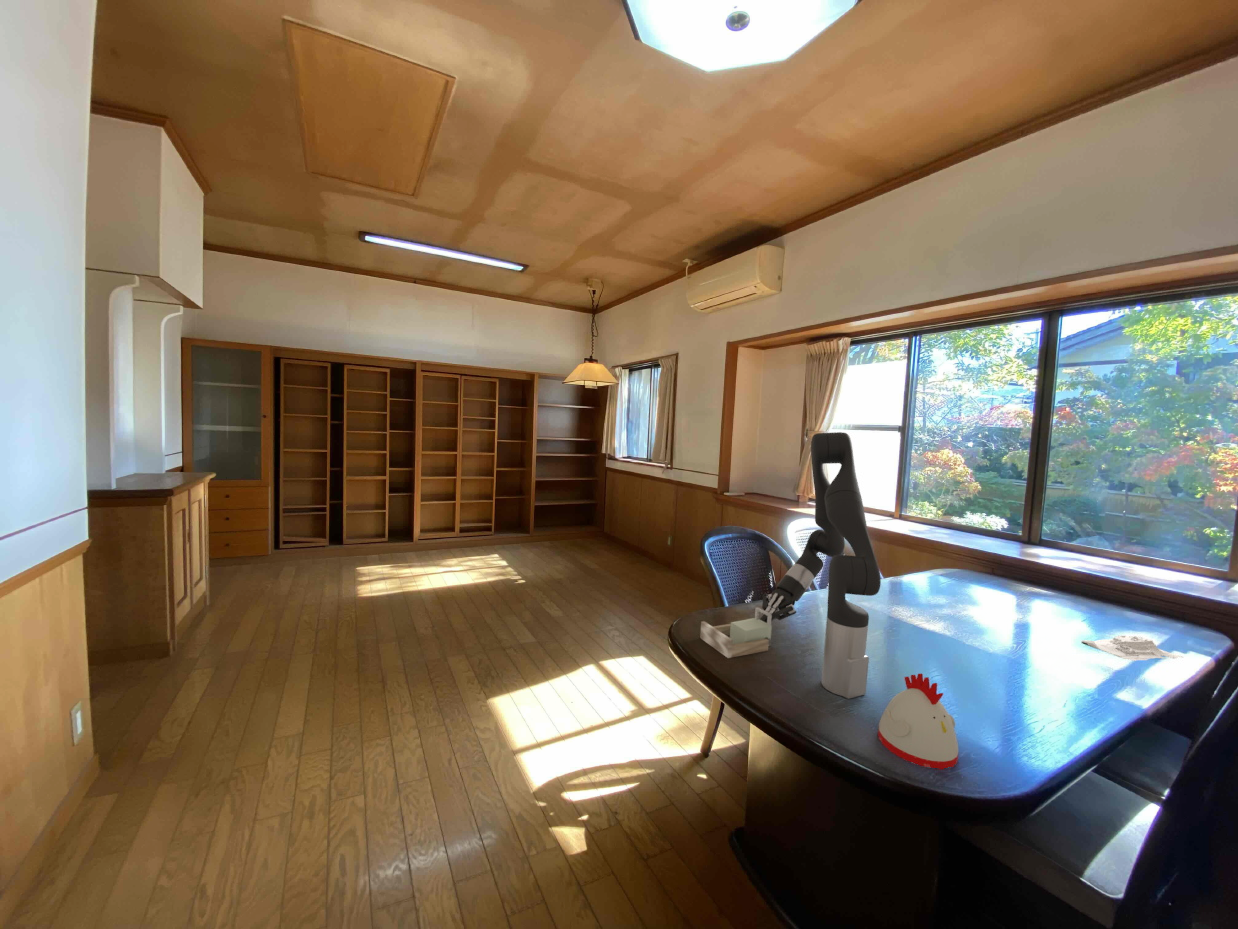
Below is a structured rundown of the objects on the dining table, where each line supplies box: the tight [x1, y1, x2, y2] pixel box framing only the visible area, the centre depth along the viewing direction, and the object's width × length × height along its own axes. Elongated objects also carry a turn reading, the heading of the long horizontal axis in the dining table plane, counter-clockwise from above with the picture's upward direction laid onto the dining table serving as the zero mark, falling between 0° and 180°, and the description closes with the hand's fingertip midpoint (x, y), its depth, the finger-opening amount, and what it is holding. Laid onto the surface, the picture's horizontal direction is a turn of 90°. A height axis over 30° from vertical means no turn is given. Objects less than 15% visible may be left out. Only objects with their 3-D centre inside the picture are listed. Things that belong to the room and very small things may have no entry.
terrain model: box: [1080, 635, 1183, 662], centre depth 154 cm, size 17×23×5 cm
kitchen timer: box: [877, 673, 959, 770], centre depth 99 cm, size 14×14×15 cm
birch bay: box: [699, 620, 769, 659], centre depth 143 cm, size 13×14×5 cm
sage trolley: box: [729, 607, 773, 647], centre depth 144 cm, size 8×10×10 cm
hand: (761, 625), depth 147 cm, fingers closed
